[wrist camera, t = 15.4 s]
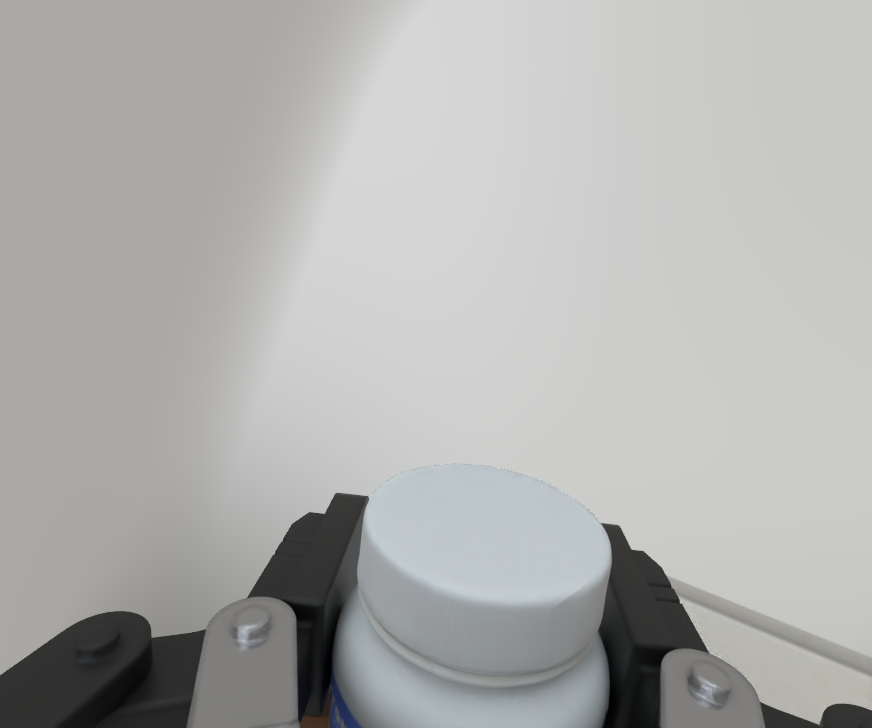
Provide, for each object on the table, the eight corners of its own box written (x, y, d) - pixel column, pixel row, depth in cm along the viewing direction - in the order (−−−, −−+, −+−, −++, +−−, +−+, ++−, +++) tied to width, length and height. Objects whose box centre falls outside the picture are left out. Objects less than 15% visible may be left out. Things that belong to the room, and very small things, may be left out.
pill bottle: (268, 888, 10) (273, 505, 8) (426, 729, 14) (458, 433, 12) (460, 1170, 7) (544, 692, 5) (597, 877, 11) (679, 521, 9)
